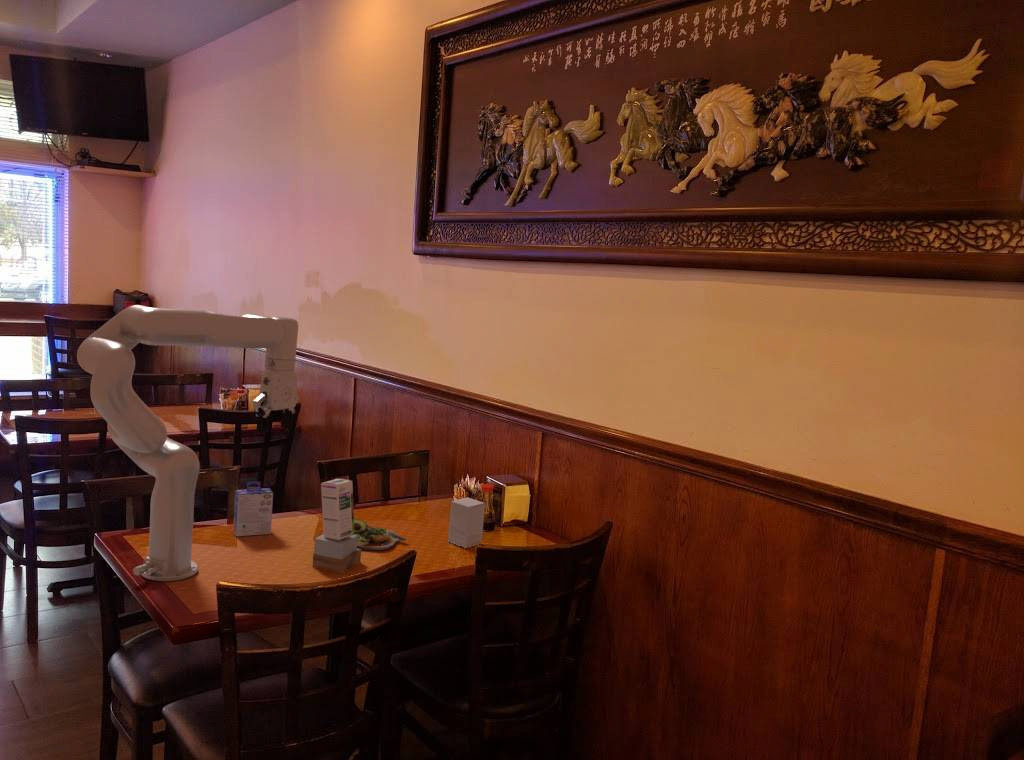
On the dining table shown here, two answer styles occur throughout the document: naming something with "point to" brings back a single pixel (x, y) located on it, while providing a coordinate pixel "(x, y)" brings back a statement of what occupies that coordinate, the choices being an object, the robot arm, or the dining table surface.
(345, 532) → the syrup box
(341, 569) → the walnut block
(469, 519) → the supplement box
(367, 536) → the salad plate
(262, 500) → the ink cartridge box
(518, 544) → the dining table surface
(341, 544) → the grey block
